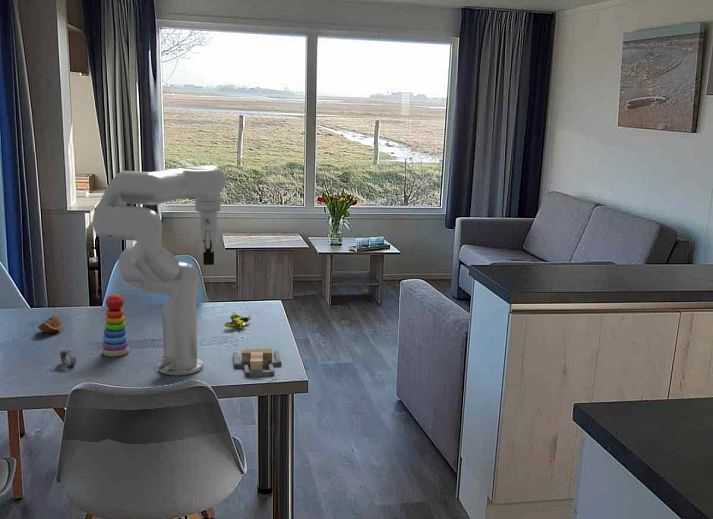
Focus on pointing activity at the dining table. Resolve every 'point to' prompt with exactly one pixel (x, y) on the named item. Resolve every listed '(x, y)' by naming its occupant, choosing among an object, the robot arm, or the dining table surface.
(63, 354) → the wristwatch
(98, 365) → the dining table surface
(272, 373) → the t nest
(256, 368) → the oak t block
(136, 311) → the dining table surface
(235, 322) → the toy motorcycle
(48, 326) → the fruit slice
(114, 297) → the stacking toy
